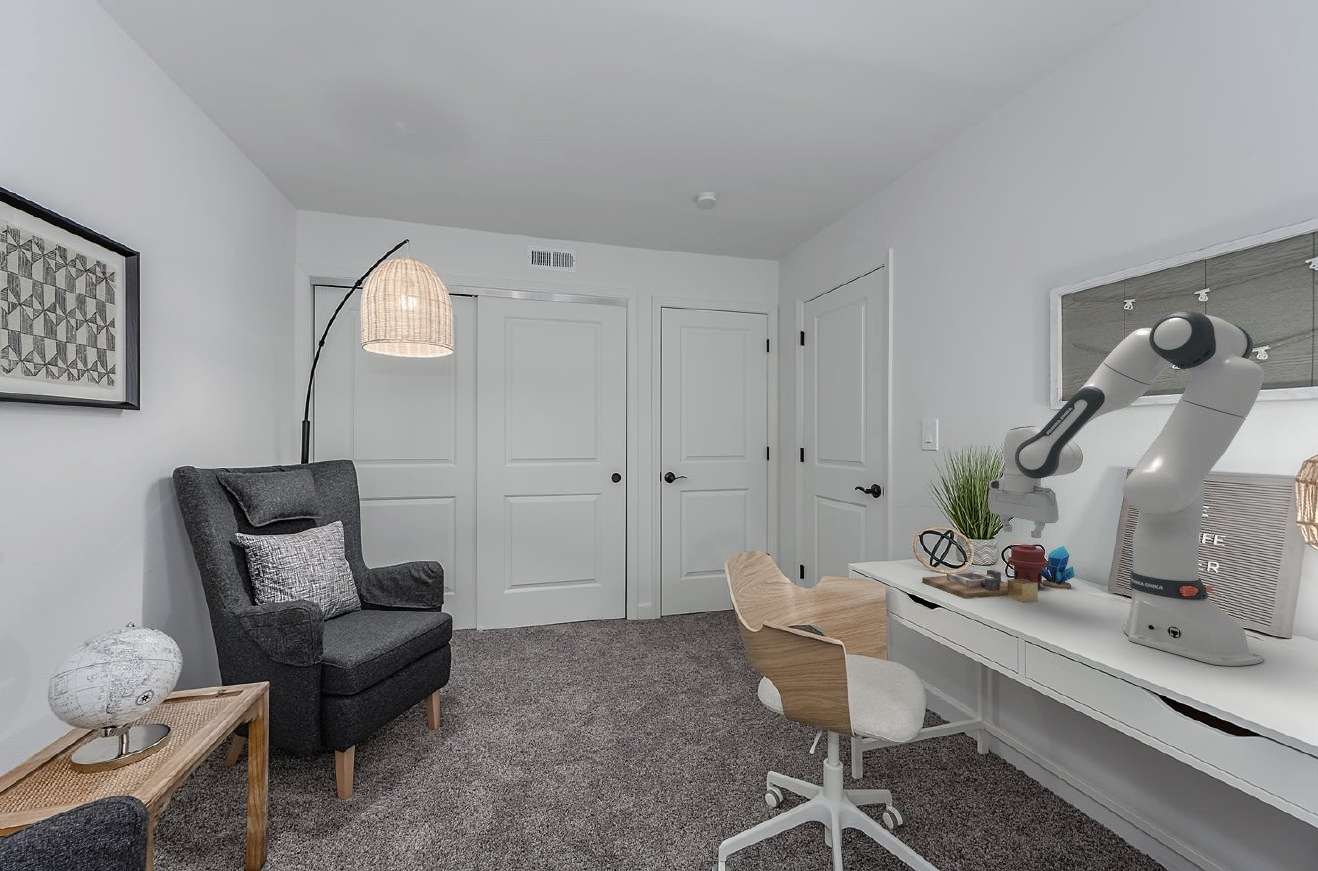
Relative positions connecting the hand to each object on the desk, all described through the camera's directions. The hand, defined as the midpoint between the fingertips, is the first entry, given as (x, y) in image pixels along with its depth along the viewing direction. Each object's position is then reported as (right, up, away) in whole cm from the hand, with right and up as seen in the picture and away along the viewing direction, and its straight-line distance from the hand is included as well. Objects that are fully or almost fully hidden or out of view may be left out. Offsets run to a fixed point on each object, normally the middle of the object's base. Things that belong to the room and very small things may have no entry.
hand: (1021, 534), depth 159 cm
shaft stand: (-8, -18, +11) cm, 23 cm away
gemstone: (+19, -18, +13) cm, 29 cm away
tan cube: (0, -18, 0) cm, 18 cm away
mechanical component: (+10, -18, +12) cm, 24 cm away
